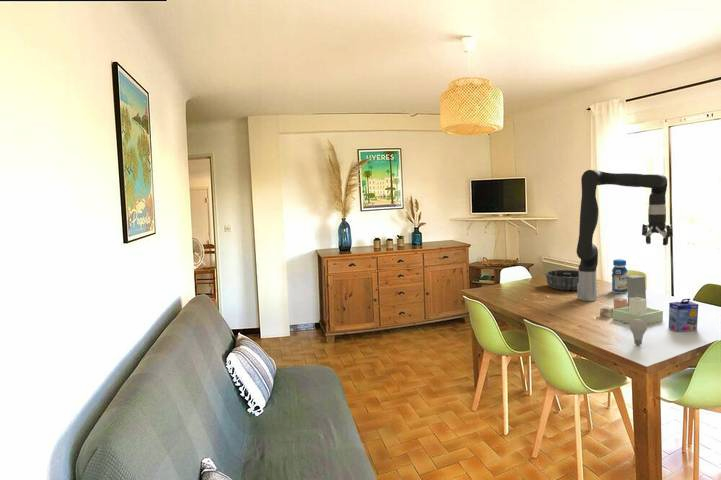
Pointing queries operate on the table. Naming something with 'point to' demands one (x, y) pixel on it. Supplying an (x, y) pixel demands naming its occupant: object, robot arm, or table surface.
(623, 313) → the tub
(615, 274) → the beverage bottle
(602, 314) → the beech block
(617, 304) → the reddish brown block
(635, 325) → the lightbulb
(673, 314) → the ink cartridge box
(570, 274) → the bundt pan
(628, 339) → the table surface
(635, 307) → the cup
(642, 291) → the skincare box
